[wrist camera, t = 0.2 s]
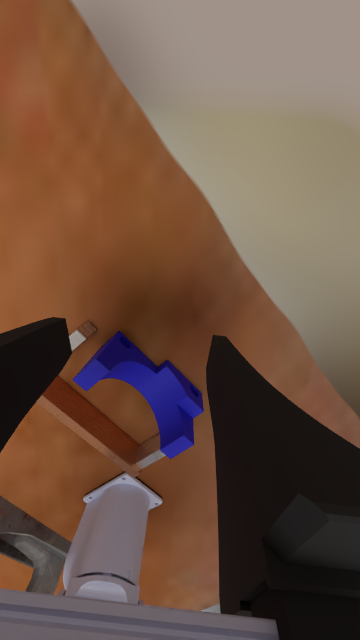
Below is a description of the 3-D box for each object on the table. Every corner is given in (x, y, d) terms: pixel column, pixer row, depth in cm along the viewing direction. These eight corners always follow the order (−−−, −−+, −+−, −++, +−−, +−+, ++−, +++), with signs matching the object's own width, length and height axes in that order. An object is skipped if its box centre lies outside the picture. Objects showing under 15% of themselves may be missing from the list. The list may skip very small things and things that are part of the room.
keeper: (139, 454, 27) (133, 478, 24) (35, 368, 23) (14, 384, 20) (191, 423, 25) (192, 445, 22) (88, 321, 21) (72, 332, 18)
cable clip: (201, 392, 24) (206, 436, 18) (173, 411, 25) (170, 458, 19) (129, 321, 21) (108, 348, 15) (101, 346, 22) (72, 379, 16)
